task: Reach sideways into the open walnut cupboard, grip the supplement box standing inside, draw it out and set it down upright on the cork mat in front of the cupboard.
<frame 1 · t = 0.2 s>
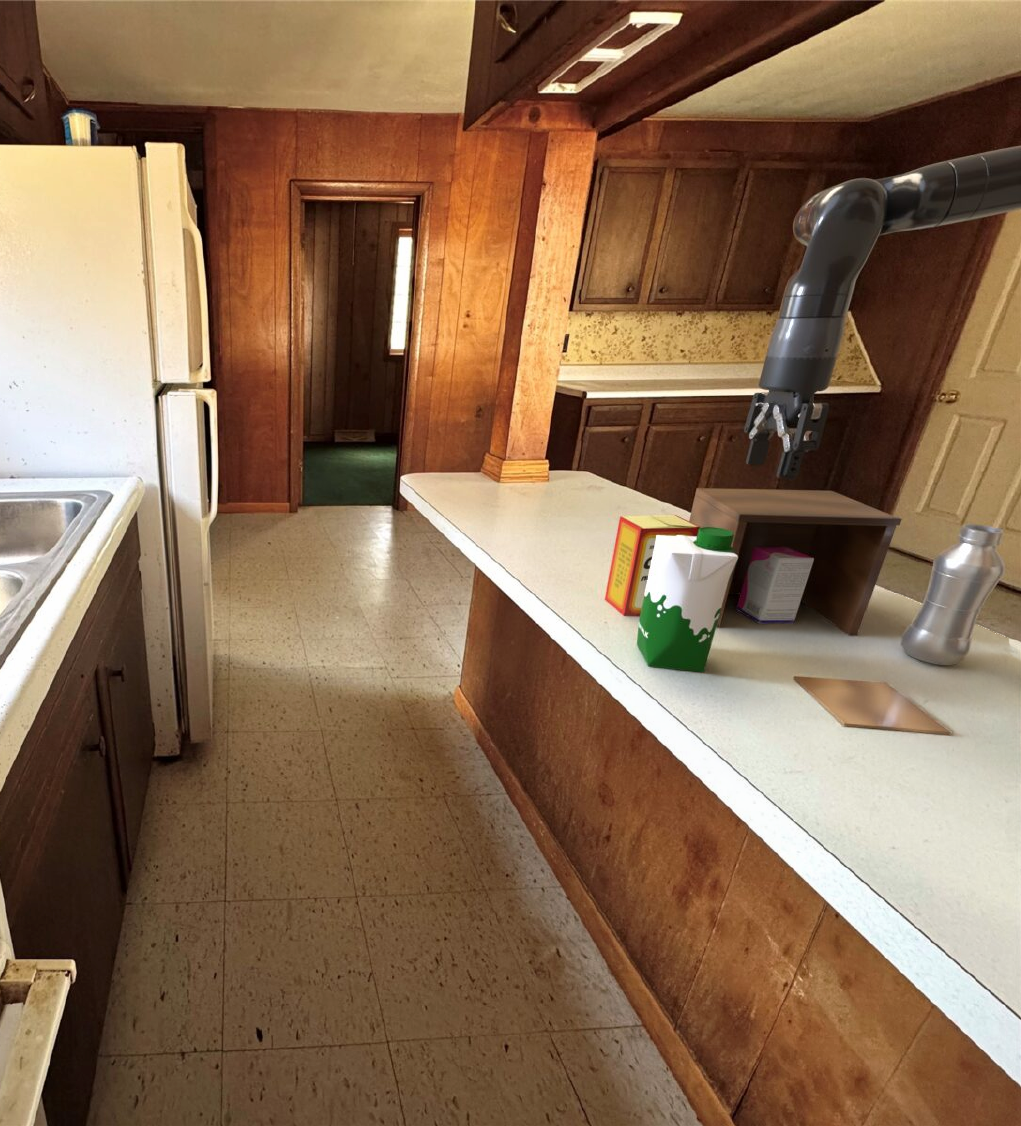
hand: (769, 471, 89), 26 cm above the countertop, tool pointing down, fingers open, 8 cm apart
baking soda box: (640, 607, 108), on the countertop
silver metal bottle: (927, 660, 90), on the countertop
supplement box: (763, 616, 104), on the countertop
cork mat: (865, 704, 80), on the countertop
milk carton: (667, 658, 92), on the countertop
cupboard: (758, 610, 105), on the countertop
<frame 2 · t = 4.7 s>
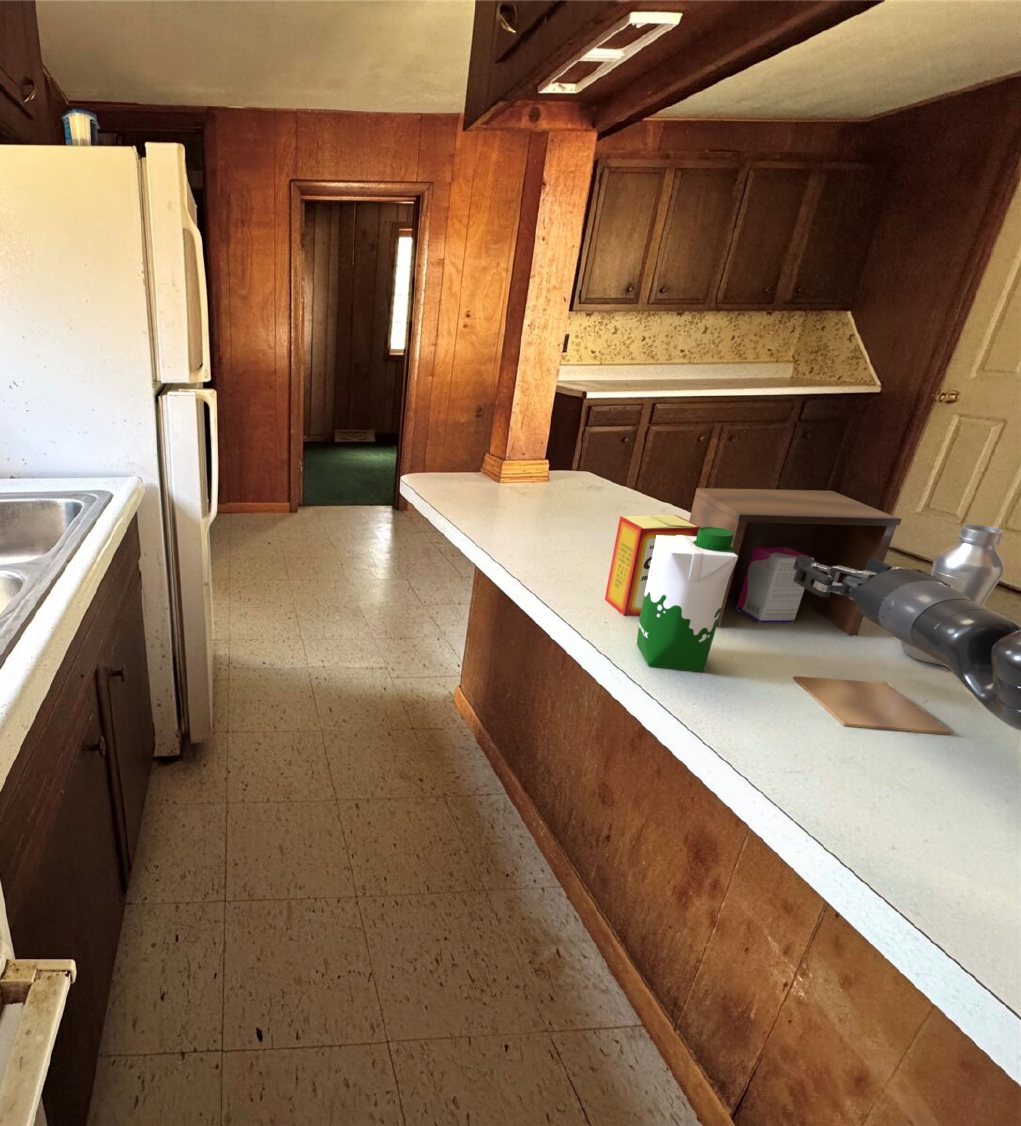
hand: (833, 563, 88), 14 cm above the countertop, tool horizontal, fingers open, 8 cm apart
nothing on the countertop moved.
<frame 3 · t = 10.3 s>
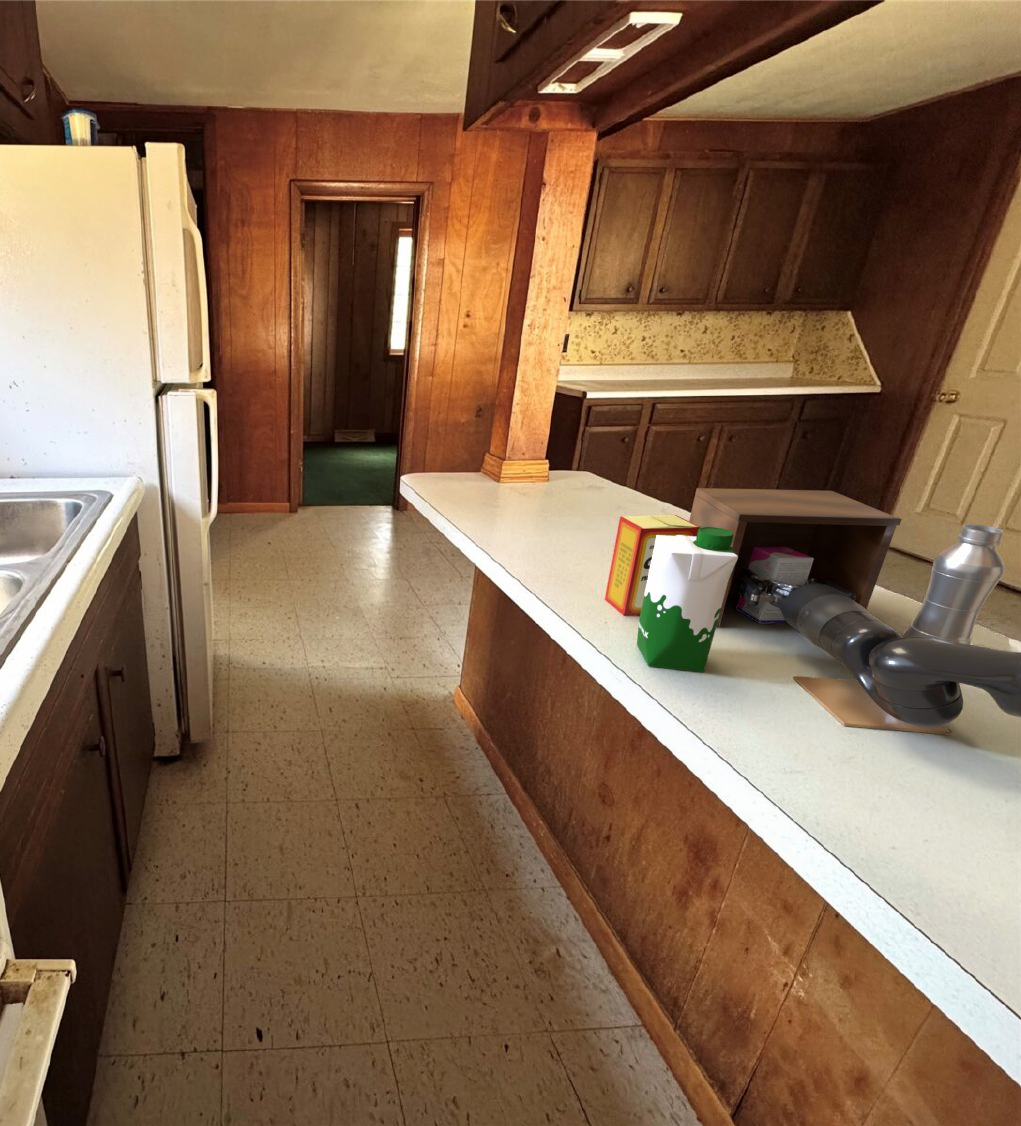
hand: (767, 574, 103), 7 cm above the countertop, tool horizontal, fingers closed on supplement box, 6 cm apart
supplement box: (763, 616, 104), on the countertop, touching gripper
everything else where it was.
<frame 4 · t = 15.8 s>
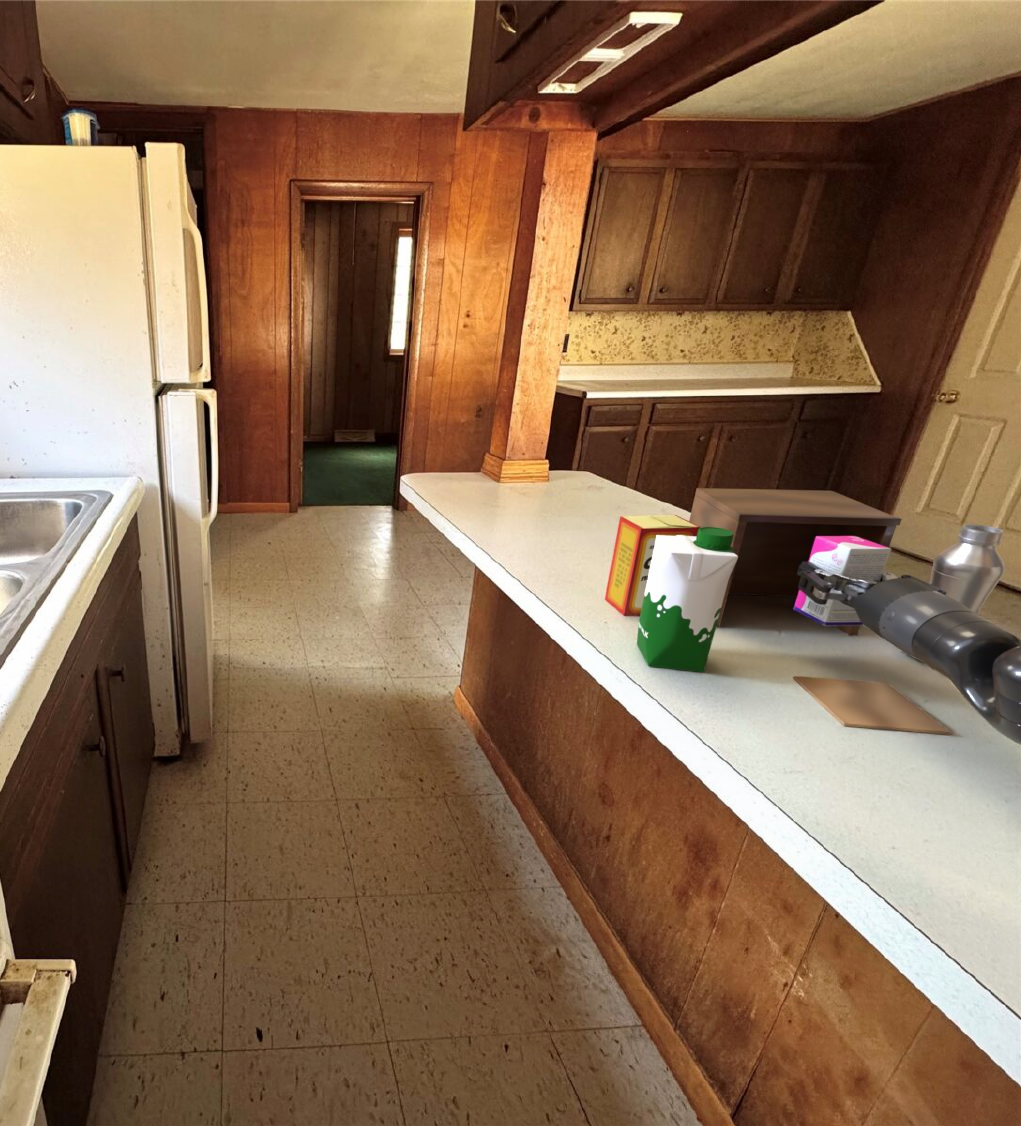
hand: (831, 568, 88), 13 cm above the countertop, tool horizontal, fingers closed on supplement box, 6 cm apart
supplement box: (827, 618, 89), point 6 cm above the countertop, touching gripper
everything else where it was.
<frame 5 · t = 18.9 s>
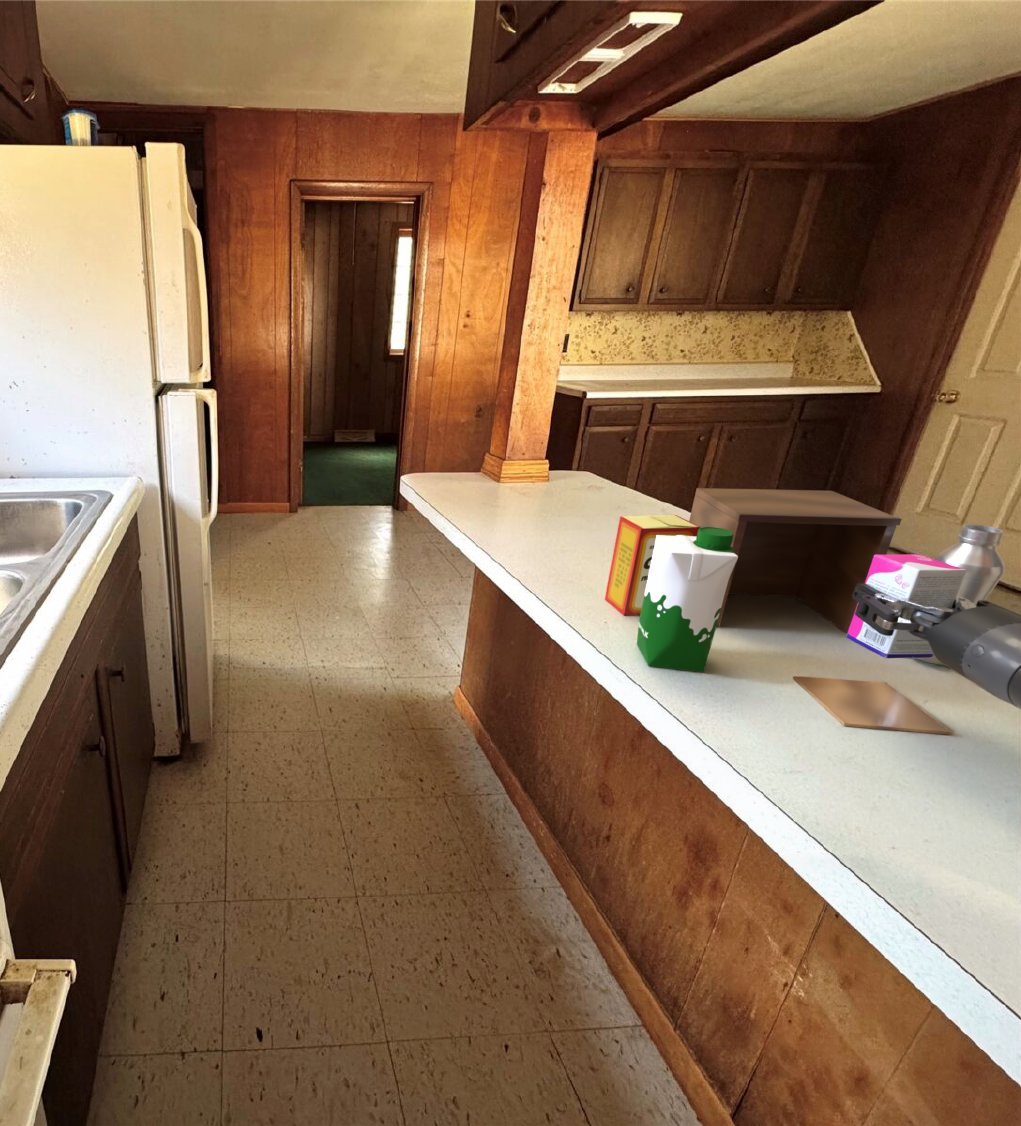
hand: (891, 592, 77), 15 cm above the countertop, tool horizontal, fingers closed on supplement box, 6 cm apart
supplement box: (887, 648, 77), point 8 cm above the countertop, touching gripper
everything else where it was.
when the fingers open (7 cm above the countertop, at t = 21.6 s): supplement box stays where it is, resting on cork mat.
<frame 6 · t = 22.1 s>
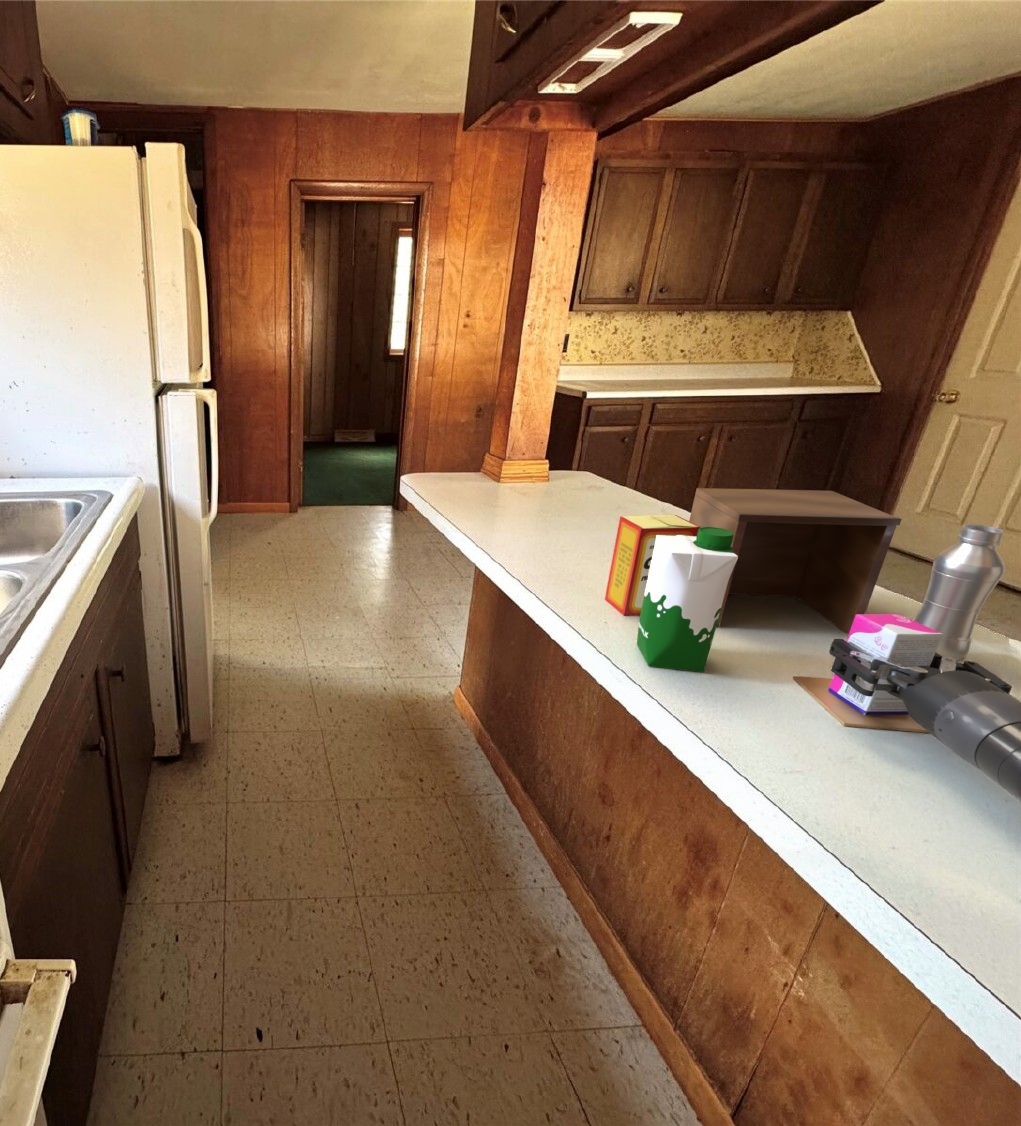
hand: (874, 647, 79), 7 cm above the countertop, tool horizontal, fingers open, 8 cm apart
supplement box: (866, 703, 80), resting on cork mat
everything else where it was.
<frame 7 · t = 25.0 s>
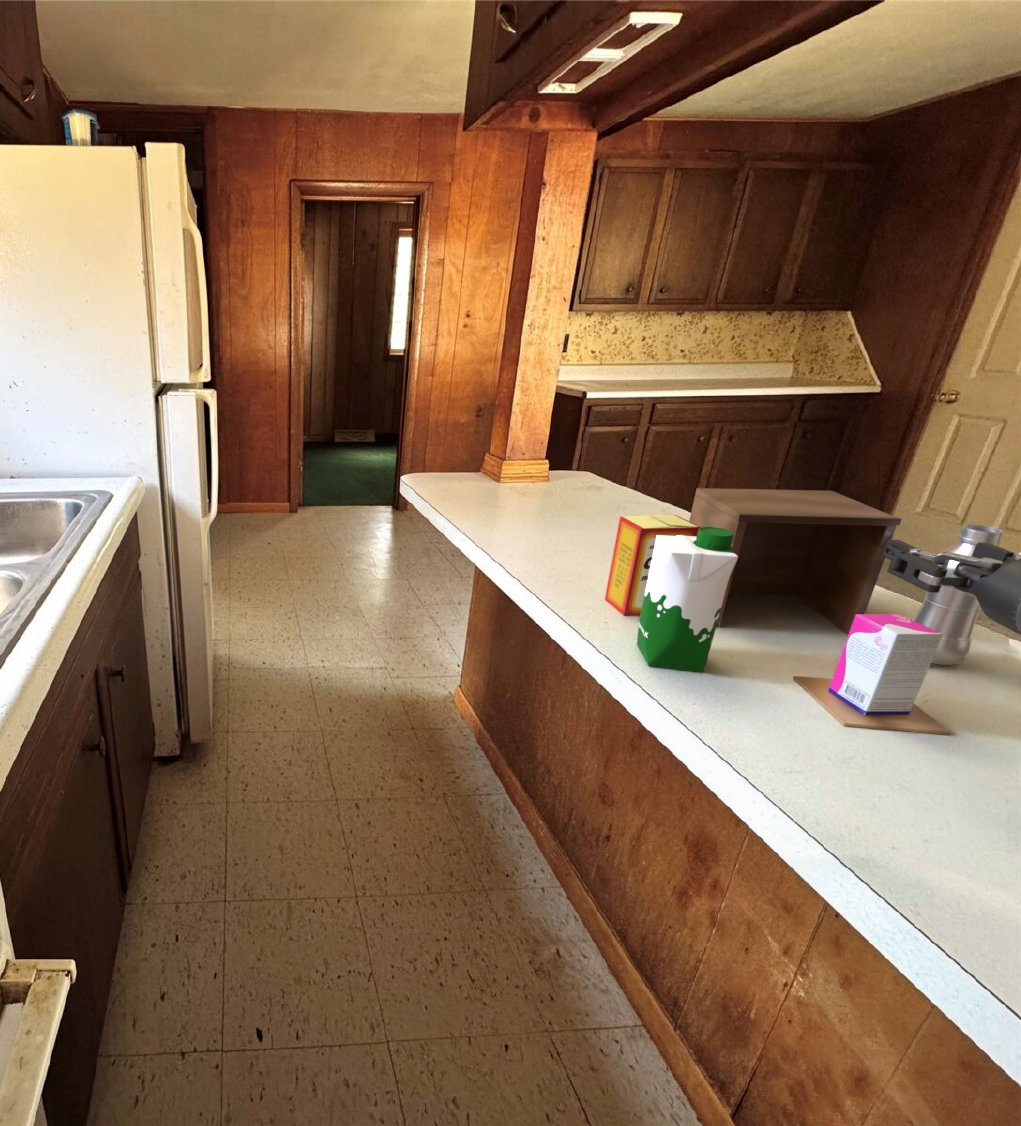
hand: (933, 548, 71), 22 cm above the countertop, tool horizontal, fingers open, 8 cm apart
nothing on the countertop moved.
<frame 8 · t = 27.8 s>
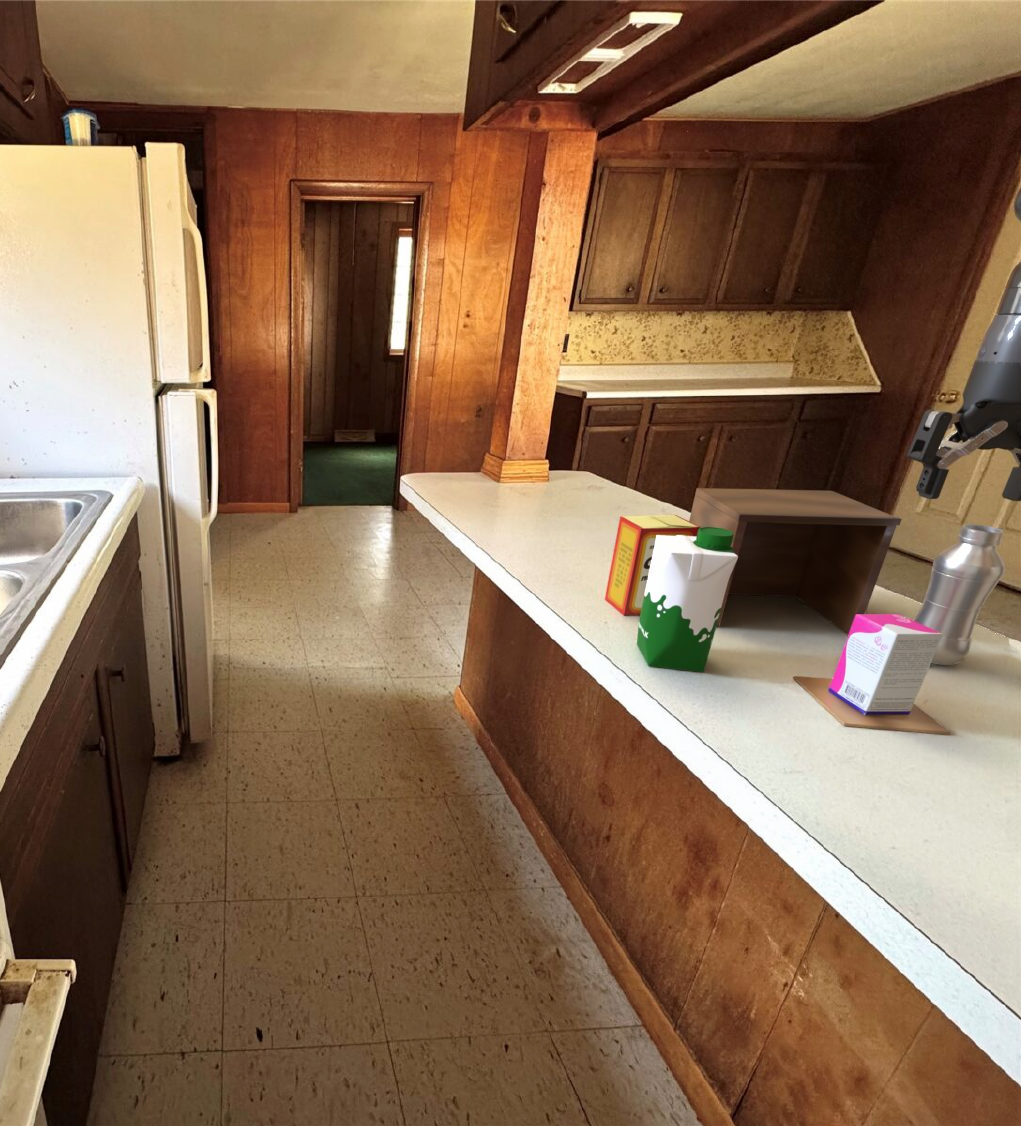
hand: (969, 498, 75), 26 cm above the countertop, tool pointing down, fingers open, 8 cm apart
nothing on the countertop moved.
at the end: supplement box inside the target area on the cork mat (0.1 cm from its centre), point 0.2 cm above the cork mat's base; supplement box tilted 0°; the gripper is holding nothing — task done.
